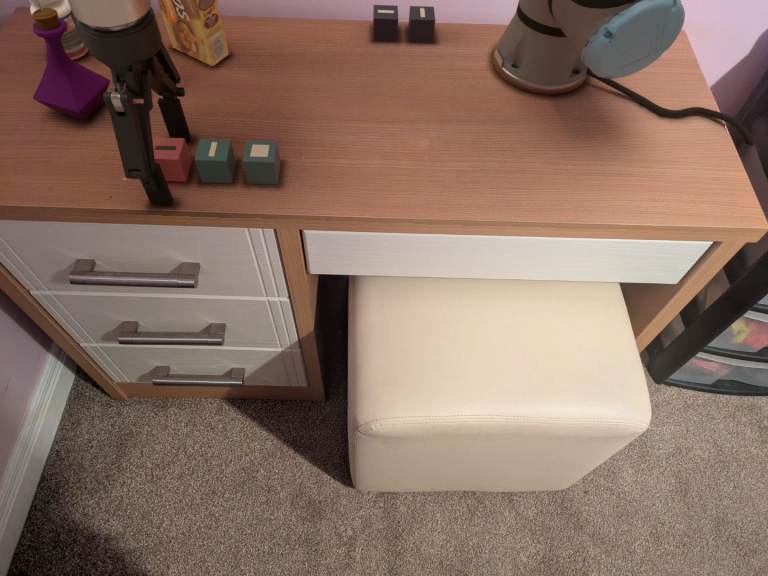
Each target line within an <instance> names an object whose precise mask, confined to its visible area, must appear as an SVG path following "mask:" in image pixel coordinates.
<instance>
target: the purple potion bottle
mask: <svg viewBox="0 0 768 576" xmlns="http://www.w3.org/2000/svg"><path fill="white" fill-rule="evenodd" d="M30 1H32V2H35V3H37V4H38V5H39V7H40V9H38V10H36V11H34V13H33V14H31V18H32V19H33V22H34V23H33V24H32V32H33V34H34V35H36V36H37V37H39V38H43V40H44V39H45V40H44V42H45V48H46V65H45V67H44V71H43V74H42V77H41V79H40V80H39V83H38V86H37V87H36V89H35V92H34V94H33V96H32V100H34V101H36V102H38V103H39V104H42V105H43V106H44V107H45V106H46V107H47V108H50V109H52V110H53V111H55V112H58V113H59V114H62V115H64V116H69V117H72V118H75V119H78V120H82V121H85V120H88V118H89V117H90V116H91V115H92V114H93V113H94V112H95V111H96V110H97V109H98V108H99V107H100V106H101V105H102V104H103V102H104V93H105V92H108V89H109V85H110V84H111V79H109V78H108V77H105V76H103V75H101V74H99V73H97V72H95V71H93V70H92V69H90V68H88V67H85V66H84V65H82V64H80V63H78V62H77V61H75V60H72V59H71V58H69V57H68V56H67V54H66V52H65V51H64V48H63V45H62V39H61V37H62V34H64V33H65V32H66V31H67V23H66V22H65V21H64V20H63V19H62V18H59V17H58V14H57V11H56V10H54V9H52V8H42V7H41V5H40V3H39V0H30Z"/></svg>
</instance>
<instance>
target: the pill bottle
mask: <svg viewBox="0 0 768 576" xmlns="http://www.w3.org/2000/svg"><path fill="white" fill-rule="evenodd" d="M27 1H28V2H29V3H30V9H29V12H30V14H31V15H32V14H33V13H34V11H36V10H38V9H40V7H39V5H38V4H37V3H35V2H32V1H30V0H27ZM39 3H40V5H41V7H42V8H52V9H54V10H56V11H57V14H58V17H59V18H62V19H63V20H64V21H65V22H66V23H67V31H66V32H65V33H64V34H62V37H61V39H62V45H63V48H64V51H65V52H66V54H67V56H68V57H69V58H71V59H72V60H73V61H75V60H78V59H80V58H82V57H84V56H85V55H86V54H87V53H88V52H89V50H88V48H87V45H86V43H85V41H84V38H83V36H82V34H81V31H80V29H79V27H78V24H77V20H78V19H77V18H76V17H75V16H74V14H73V11H72V9H71V7H70V5H69V2H68V0H39ZM43 41H45V39H44V38H43Z"/></svg>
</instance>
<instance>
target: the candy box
mask: <svg viewBox="0 0 768 576" xmlns="http://www.w3.org/2000/svg"><path fill="white" fill-rule="evenodd" d="M157 1H158V6H159V8H160V12H161V16H162V18H163V21H164V24H165V27H166V31H167V33H168V37H169V40H170V43H171V47H172V48H173V49H176V50H177V51H178V52H181V53H183V54H186V55H188V56H190V57H192V58H193V59H196V60H198V61H200V62H202V63H204V64H207V65H208V66H211V67H214V66H216V65H217V64H218V63H220V62H221V61H222V60H224V59H225V58H226V57H228V56H229V55H230V52H229V48H228V45H227V39H226V35H225V31H224V26H223V23H222V17H221V13H220V9H219V4H218V0H157Z"/></svg>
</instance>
